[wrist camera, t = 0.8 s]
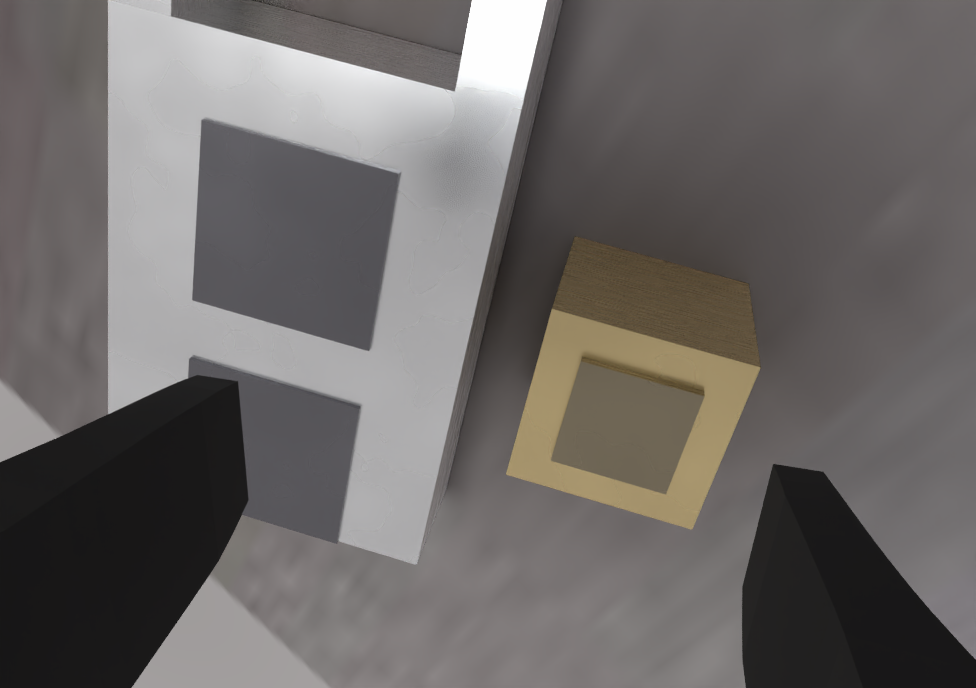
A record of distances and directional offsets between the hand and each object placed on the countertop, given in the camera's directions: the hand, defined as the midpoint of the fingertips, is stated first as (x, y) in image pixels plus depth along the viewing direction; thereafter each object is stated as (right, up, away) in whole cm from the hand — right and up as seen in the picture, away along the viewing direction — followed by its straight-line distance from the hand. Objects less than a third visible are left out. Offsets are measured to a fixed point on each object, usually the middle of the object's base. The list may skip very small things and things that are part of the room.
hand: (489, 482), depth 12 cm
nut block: (+3, +2, +9) cm, 10 cm away
